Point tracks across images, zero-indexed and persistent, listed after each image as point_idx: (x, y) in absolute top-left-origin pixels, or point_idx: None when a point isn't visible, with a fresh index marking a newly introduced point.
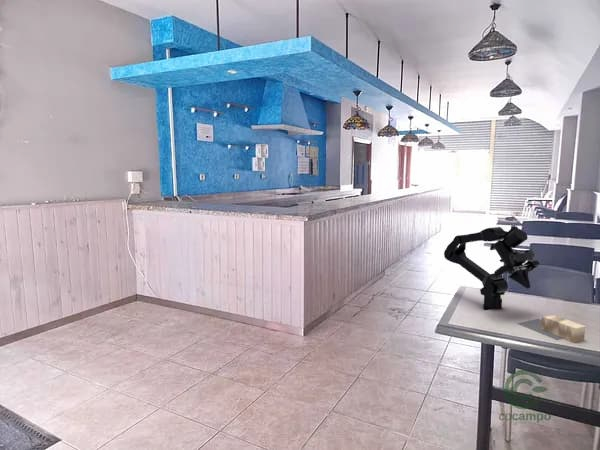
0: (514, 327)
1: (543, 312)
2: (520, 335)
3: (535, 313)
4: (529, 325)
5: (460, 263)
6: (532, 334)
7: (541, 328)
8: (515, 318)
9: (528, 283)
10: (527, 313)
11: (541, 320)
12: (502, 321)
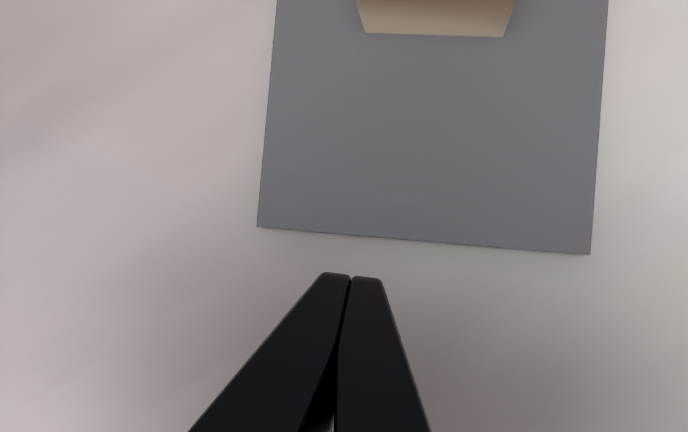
0: (653, 230)
1: (14, 333)
2: None
3: (104, 357)
4: (516, 154)
5: None
6: (652, 34)
7: (503, 33)
8: None
9: (320, 348)
10: (171, 399)
11: (275, 181)
12: (618, 398)
